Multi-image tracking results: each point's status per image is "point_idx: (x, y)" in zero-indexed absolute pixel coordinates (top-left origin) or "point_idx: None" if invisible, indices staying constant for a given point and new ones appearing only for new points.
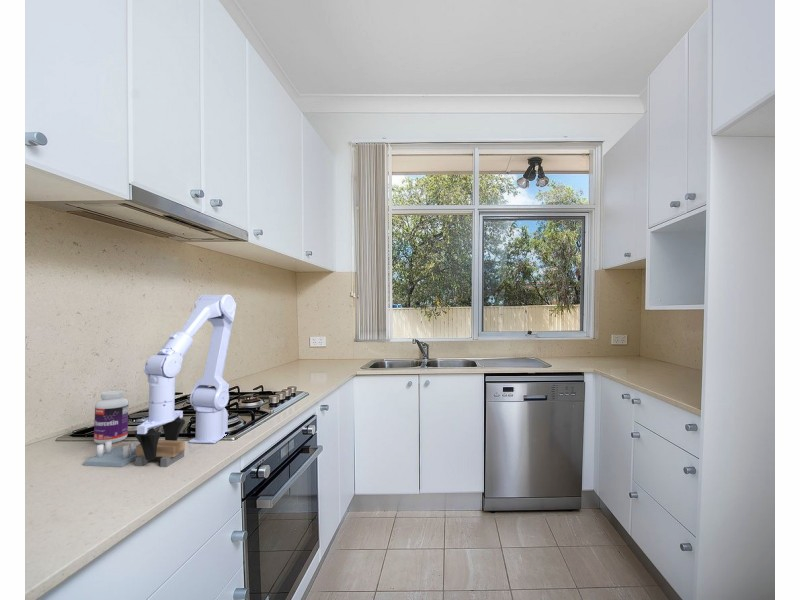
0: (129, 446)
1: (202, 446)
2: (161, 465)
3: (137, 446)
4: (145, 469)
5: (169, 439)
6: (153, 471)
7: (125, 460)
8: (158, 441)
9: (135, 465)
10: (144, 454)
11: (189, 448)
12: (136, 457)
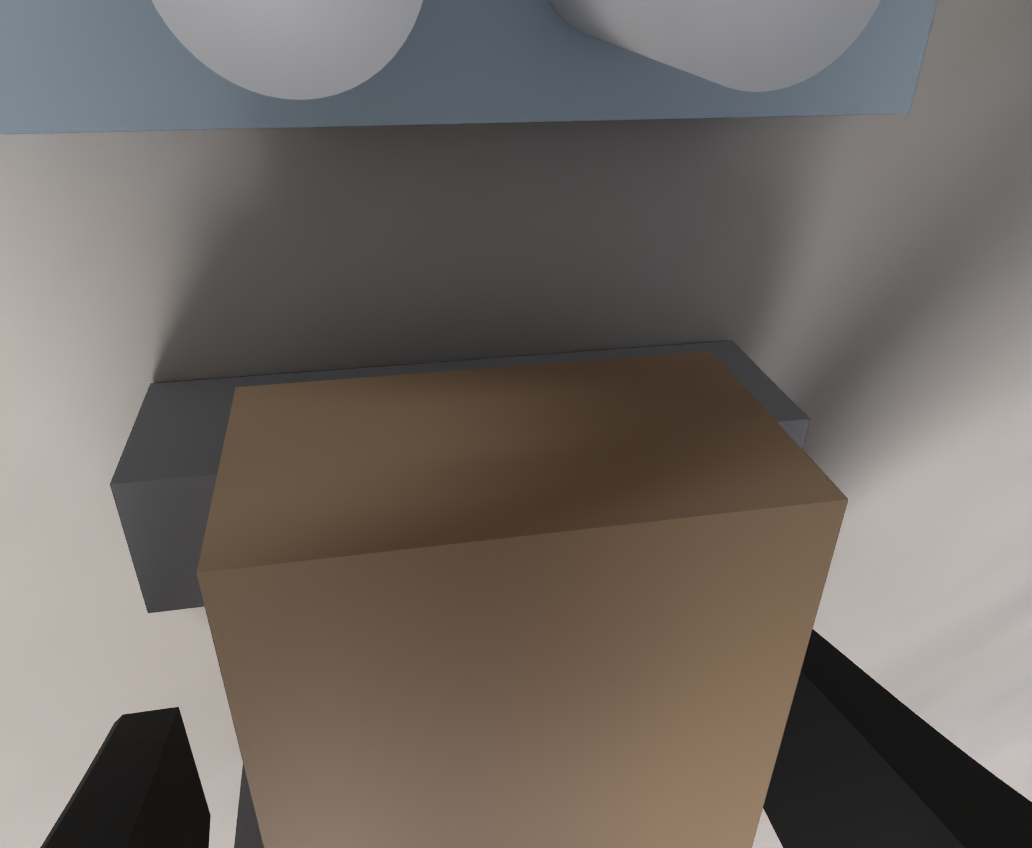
0: (332, 90)
1: (1015, 713)
2: (243, 790)
3: (210, 592)
4: (74, 658)
5: (850, 833)
6: (57, 796)
7: (107, 111)
8: (668, 806)
9: (149, 386)
10: (69, 809)
11: (975, 625)
12: (131, 490)
